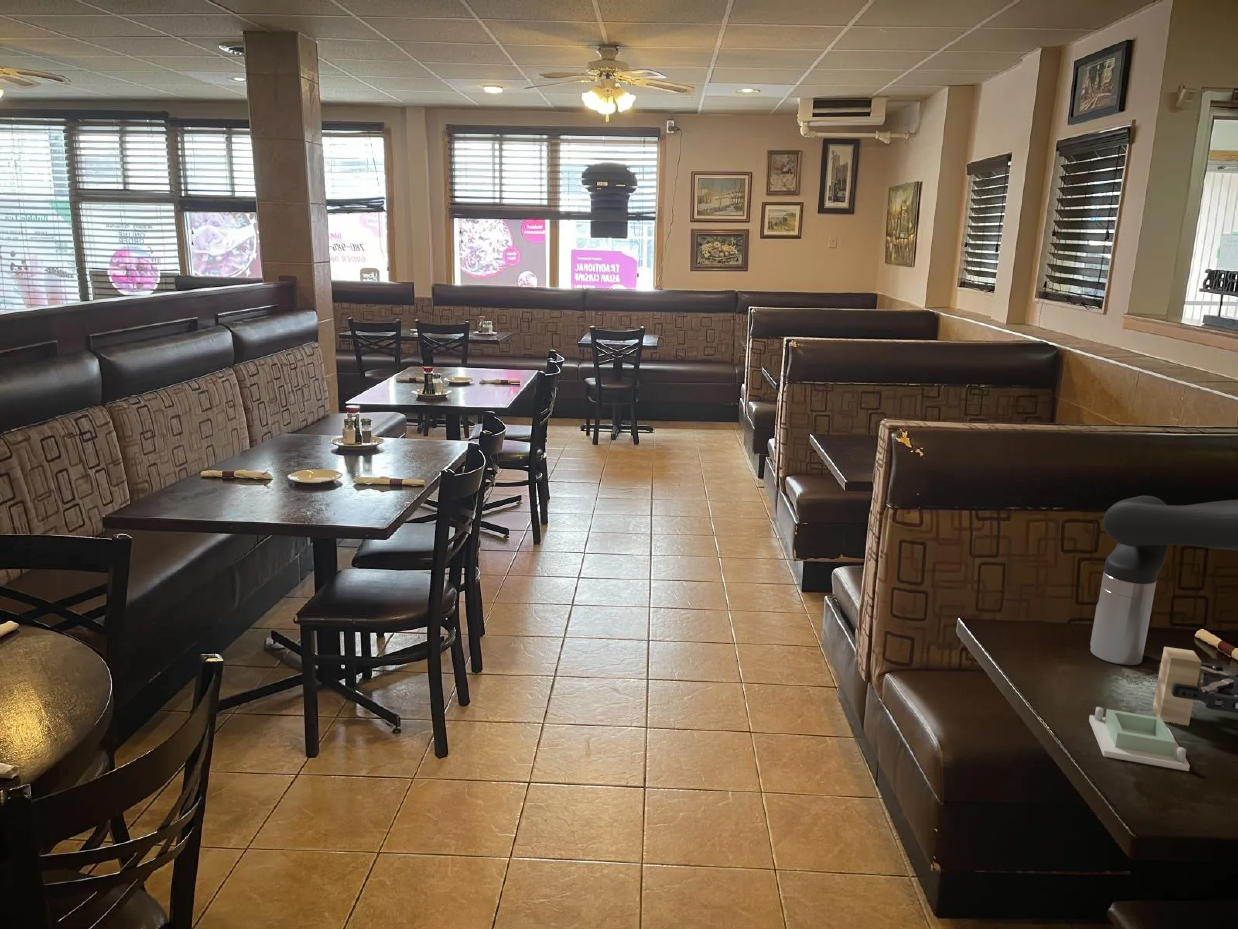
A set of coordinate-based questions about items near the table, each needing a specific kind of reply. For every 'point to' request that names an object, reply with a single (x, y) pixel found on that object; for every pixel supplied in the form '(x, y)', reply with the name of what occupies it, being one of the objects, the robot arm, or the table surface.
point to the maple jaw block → (1174, 670)
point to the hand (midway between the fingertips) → (1165, 678)
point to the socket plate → (1137, 739)
